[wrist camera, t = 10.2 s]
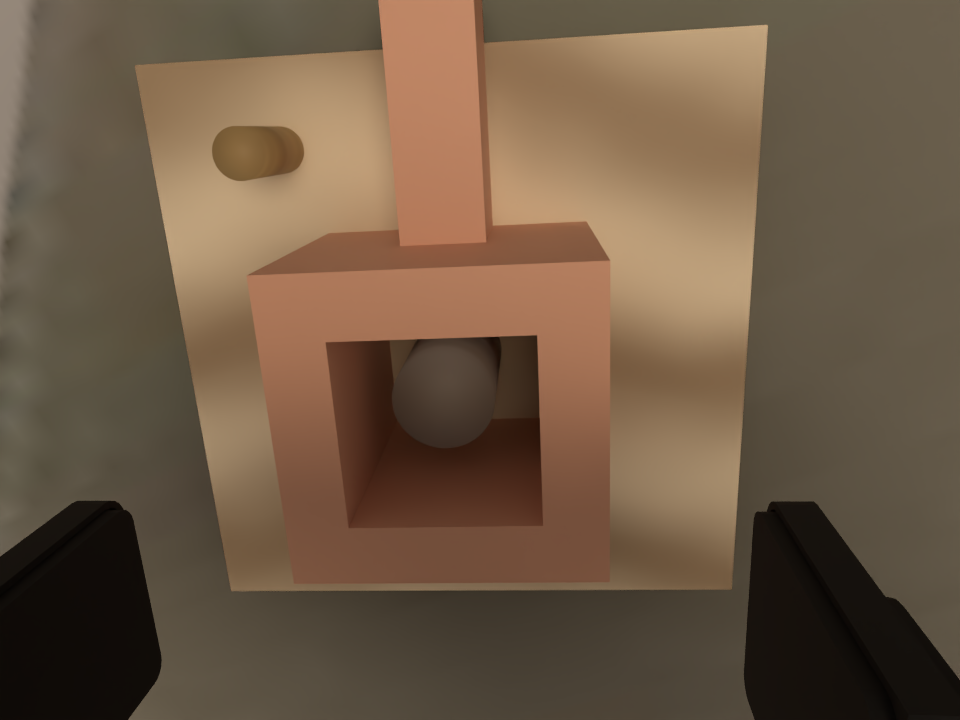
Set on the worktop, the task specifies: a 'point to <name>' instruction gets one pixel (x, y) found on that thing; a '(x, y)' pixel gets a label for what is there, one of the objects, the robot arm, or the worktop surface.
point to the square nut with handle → (433, 315)
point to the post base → (515, 200)
